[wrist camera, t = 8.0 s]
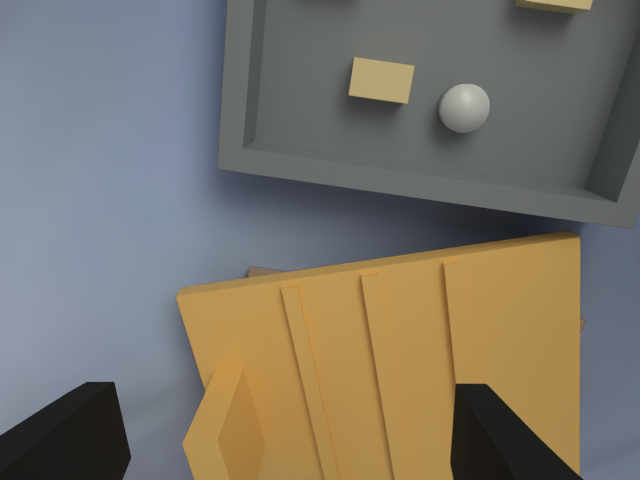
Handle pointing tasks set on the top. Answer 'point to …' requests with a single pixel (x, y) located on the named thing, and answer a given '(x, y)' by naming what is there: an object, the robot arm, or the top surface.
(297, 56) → the parts tub
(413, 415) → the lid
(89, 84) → the top surface
